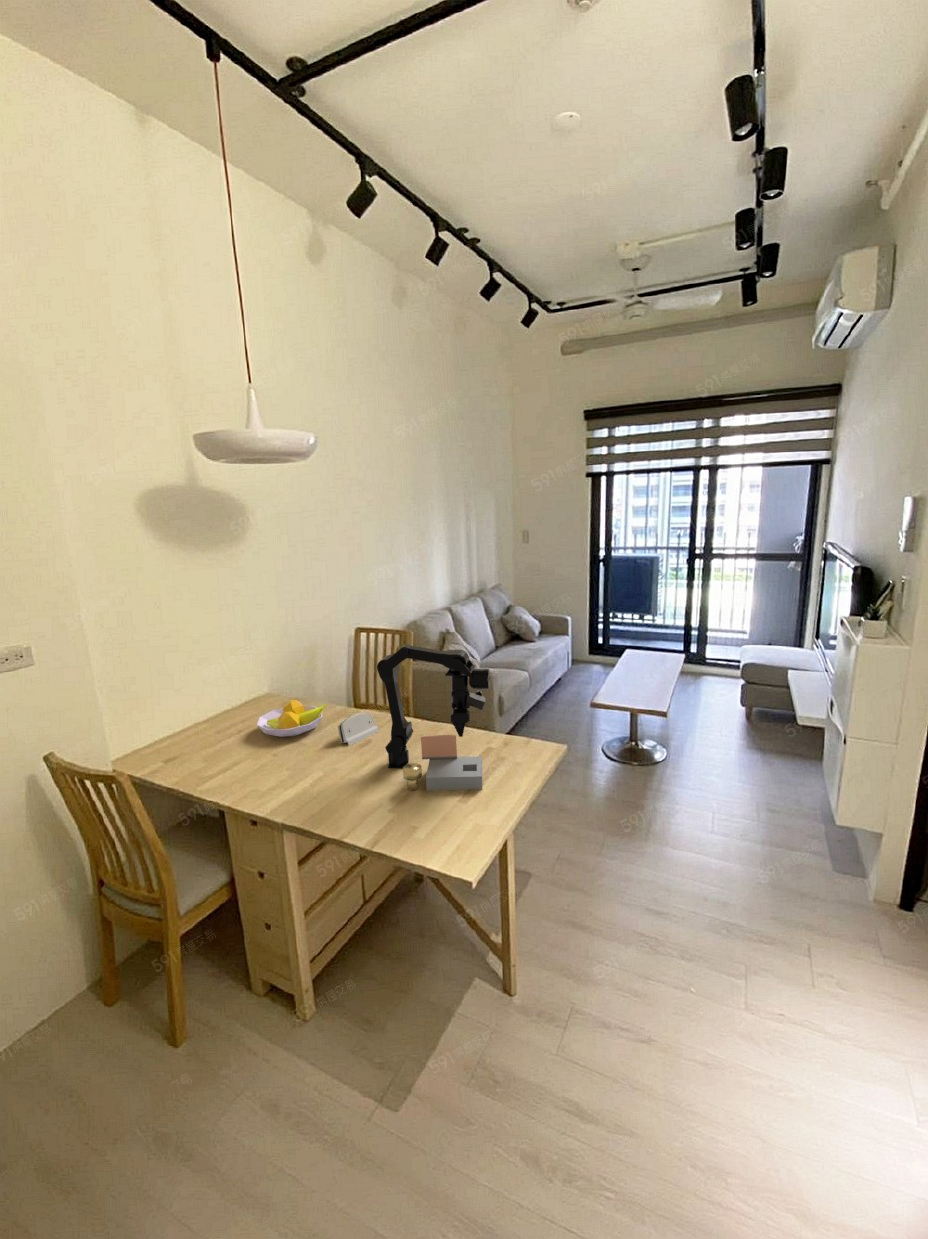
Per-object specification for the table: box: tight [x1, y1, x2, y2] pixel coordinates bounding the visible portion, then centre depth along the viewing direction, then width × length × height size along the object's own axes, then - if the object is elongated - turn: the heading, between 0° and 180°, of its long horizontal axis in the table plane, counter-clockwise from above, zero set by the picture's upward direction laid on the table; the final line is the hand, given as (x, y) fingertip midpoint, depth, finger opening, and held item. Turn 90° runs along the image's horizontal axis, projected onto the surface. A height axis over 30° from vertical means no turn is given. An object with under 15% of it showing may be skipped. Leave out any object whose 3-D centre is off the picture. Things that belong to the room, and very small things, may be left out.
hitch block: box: [425, 755, 483, 791], centre depth 184 cm, size 18×14×4 cm
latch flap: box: [420, 734, 458, 760], centre depth 188 cm, size 12×1×9 cm, turn 88°
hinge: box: [337, 712, 380, 746], centre depth 221 cm, size 17×5×10 cm, turn 141°
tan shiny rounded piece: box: [402, 762, 423, 791], centre depth 179 cm, size 6×6×7 cm
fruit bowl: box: [256, 699, 327, 737], centre depth 230 cm, size 28×27×11 cm
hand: (461, 730), depth 189 cm, fingers open, 9 cm apart
